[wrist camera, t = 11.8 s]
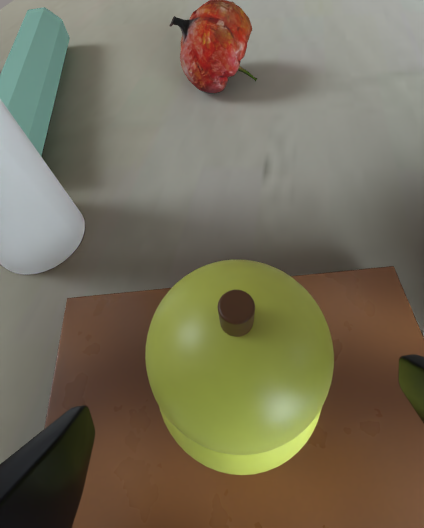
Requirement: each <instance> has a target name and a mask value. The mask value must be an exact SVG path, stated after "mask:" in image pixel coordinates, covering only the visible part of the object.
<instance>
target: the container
mask: <svg viewBox="0 0 424 528" xmlns="http://www.w3.org/2000/svg"><path fill="white" fill-rule="evenodd" d="M69 39H70V38H69V35H68V33H67V31H66V28H65V26H64V23H63V21H62V19H61V18H59V17H58V16H56V15H55V14H54V13H52V12H51V11H49V10H48V9H46V8H45V7H44V8H37V9H31V10H28V11H27V13H26V16H25V18H24V20H23V23H22V25H21V27H20V30H19V32H18V34H17V37H16V39H15V41H14V44H13V46H12V48H11V51H10V53H9V56H8V58H7V60H6V63H5V65H4V67H3V70H2V72H1V74H0V99H1V101H2V102H3V103H4V105H5V106H6V108H7V109H8V110H9V112H10V113H11V115H12V116H13V117H14V119H15V120H16V122H17V123H18V125H19V126H20V127H21V129H22V130H23V132H24V133H25V134H26V136H27V137H28V139H29V140H30V141H31V143H32V144H33V146H34V147H35V148H36V150H37V151H38V153H39V154H40V156H42V152H43V148H44V143H45V139H46V135H47V131H48V127H49V122H50V118H51V114H52V110H53V106H54V101H55V97H56V93H57V89H58V85H59V80H60V76H61V72H62V68H63V64H64V60H65V55H66V51H67V47H68V43H69ZM45 163H46V162H45Z"/></svg>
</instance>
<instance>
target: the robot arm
mask: <svg viewBox="0 0 424 528" xmlns="http://www.w3.org/2000/svg"><path fill="white" fill-rule="evenodd" d="M398 381H399V385H400V388H401V390H402V392H403V393H404V395H405V396H406V398H407V399H408V401H409V402H410V404H411V405H412V407H413V408H414V410H415V411H416V413H417V414H418V416H419V417H420V419H421V420H422V422H423V423H424V357H423V356H420V355H417V354H410V355H404V356H401V357H400V358H399V371H398ZM94 440H95V426H94V423H93V420H92V417H91V413H90V410H89V408H88V406H86V405H81V406H75V407H72V408H70V409H69V410H68V411H66V412H65V413H64V414H63V415H61V416H60V417H59V418H58V419H56V420H55V421H54V422H53V423H51V424H50V425H49V426H48V427H46V428H45V429H44V430H43V431H41V432H40V433H39V434H38V435H36V436H35V437H34V438H33V439H31V440H30V441H29V442H28V443H26V444H25V445H24V446H23V447H21V448H20V449H19V450H18V451H16V452H15V453H14V454H13V455H11V456H10V457H9V458H8V459H6V460H5V461H4V462H3V463H1V464H0V528H72V526H73V523H74V519H75V516H76V513H77V510H78V507H79V504H80V500H81V497H82V493H83V489H84V485H85V481H86V476H87V472H88V467H89V463H90V458H91V453H92V449H93V444H94Z"/></svg>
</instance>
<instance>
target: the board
mask: <svg viewBox="0 0 424 528" xmlns="http://www.w3.org/2000/svg"><path fill="white" fill-rule="evenodd" d="M290 277H292V278H293V279H295V280H296V281H297V282H298V283H299V284H301V285H302V286H303V287H304V288H305V289H306V290H307V291H308V292H309V294H310V295H311V296H312V297H313V299H314V300H315V301H316V303H317V304H318V306H319V308H320V309H321V311H322V313H323V315H324V317H325V320H326V322H327V325H328V327H329V331H330V334H331V338H332V343H333V351H334V369H333V376H332V381H331V385H330V388H329V392H328V395H327V397H326V400H325V402H324V404H323V406H322V409H321V412H320V416H319V419H318V422H317V424H316V427H315V429H314V431H313V433H312V435H311V436H310V438H309V439H308V441H307V442H306V444H305V445H304V446H303V447H302V448H301V449H300V451H299V452H298V453H296V454H295V455H294V456H293V457H292V458H291V459H289V460H288V461H286V462H285V463H283V464H282V465H280V466H278V467H276V468H273V469H271V470H269V471H266V472H262V473H257V474H250V475H235V474H227V473H223V472H219V471H216V470H214V469H211V468H209V467H206V466H205V465H203V464H201V463H199V462H198V461H196V460H195V459H193V458H192V457H191V456H190V455H188V454H187V453H186V452H185V451H184V450H183V449H182V448H181V447H180V446H179V445H178V443H177V442H176V441H175V439H174V438H173V437H172V435H171V434H170V432H169V430H168V428H167V426H166V424H165V422H164V420H163V417H162V414H161V412H160V408H159V405H158V403H157V401H156V399H155V397H154V395H153V392H152V389H151V387H150V383H149V379H148V375H147V370H146V360H145V353H146V341H147V335H148V331H149V327H150V324H151V321H152V318H153V316H154V314H155V311H156V309H157V307H158V306H159V304H160V302H161V301H162V299H163V298H164V297H165V295H166V294H167V293H168V291H169V290H170V289H171V288H165V289H155V290H145V291H135V292H125V293H114V294H104V295H94V296H84V297H74V298H67V302H66V307H65V313H64V319H63V324H62V330H61V336H60V342H59V347H58V353H57V359H56V364H55V370H54V376H53V381H52V387H51V393H50V398H49V404H48V410H47V415H46V421H45V427H44V429H45V428H46V427H48V426H49V425H50V424H51V423H53V422H54V421H55V420H56V419H58V418H59V417H60V416H61V415H63V414H64V413H65V412H66V411H68V410H69V409H70V408H72V407H75V406H81V405H86V406H88V408H89V410H90V413H91V417H92V420H93V423H94V426H95V440H94V444H93V449H92V453H91V458H90V463H89V467H88V472H87V476H86V481H85V485H84V489H83V493H82V497H81V500H80V504H79V507H78V510H77V513H76V516H75V519H74V523H73V526H72V528H424V423H423V422H422V420H421V419H420V417H419V416H418V414H417V413H416V411H415V410H414V408H413V407H412V405H411V404H410V402H409V401H408V399H407V398H406V396H405V395H404V393H403V392H402V390H401V388H400V385H399V381H398V371H399V358H400V357H401V356H404V355H410V354H417V355H420V356H423V357H424V338H423V335H422V333H421V331H420V328H419V326H418V323H417V321H416V319H415V316H414V314H413V311H412V309H411V307H410V304H409V302H408V299H407V297H406V295H405V292H404V290H403V288H402V285H401V283H400V280H399V278H398V276H397V273H396V271H395V268H394V266H389V267H379V268H369V269H359V270H349V271H338V272H328V273H318V274H308V275H298V276H290Z"/></svg>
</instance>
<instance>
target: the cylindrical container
mask: <svg viewBox="0 0 424 528" xmlns="http://www.w3.org/2000/svg"><path fill="white" fill-rule="evenodd" d="M84 231H85V221H84V218H83V215H82V213H81V212H80V211H79V209H78V208H77V206H76V205H75V203H74V202H73V201H72V199H71V198H70V196H69V195H68V194H67V192H66V191H65V189H64V188H63V187H62V185H61V184H60V182H59V181H58V180H57V178H56V177H55V175H54V174H53V172H52V171H51V170H50V168H49V167H48V165H47V164H46V163H45V161H44V160H43V158H42V157H41V156H40V154H39V153H38V151H37V150H36V148H35V147H34V146H33V144H32V143H31V141H30V140H29V139H28V137H27V136H26V134H25V133H24V132H23V130H22V129H21V127H20V126H19V125H18V123H17V122H16V120H15V119H14V117H13V116H12V115H11V113H10V112H9V110H8V109H7V108H6V106H5V105H4V103H3V102H2V101H1V99H0V265H2V266H3V267H4V268H6V269H8V270H9V271H11V272H14V273H17V274H25V275H28V274H37V273H41V272H44V271H47V270H49V269H52V268H54V267H56V266H57V265H59V264H61V263H62V262H64V261H65V260H66V259H67V258H68V257H69V256H71V255H72V253H73V252H74V251H75V250H76V249H77V247H78V246H79V244H80V242H81V240H82V238H83V235H84Z"/></svg>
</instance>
